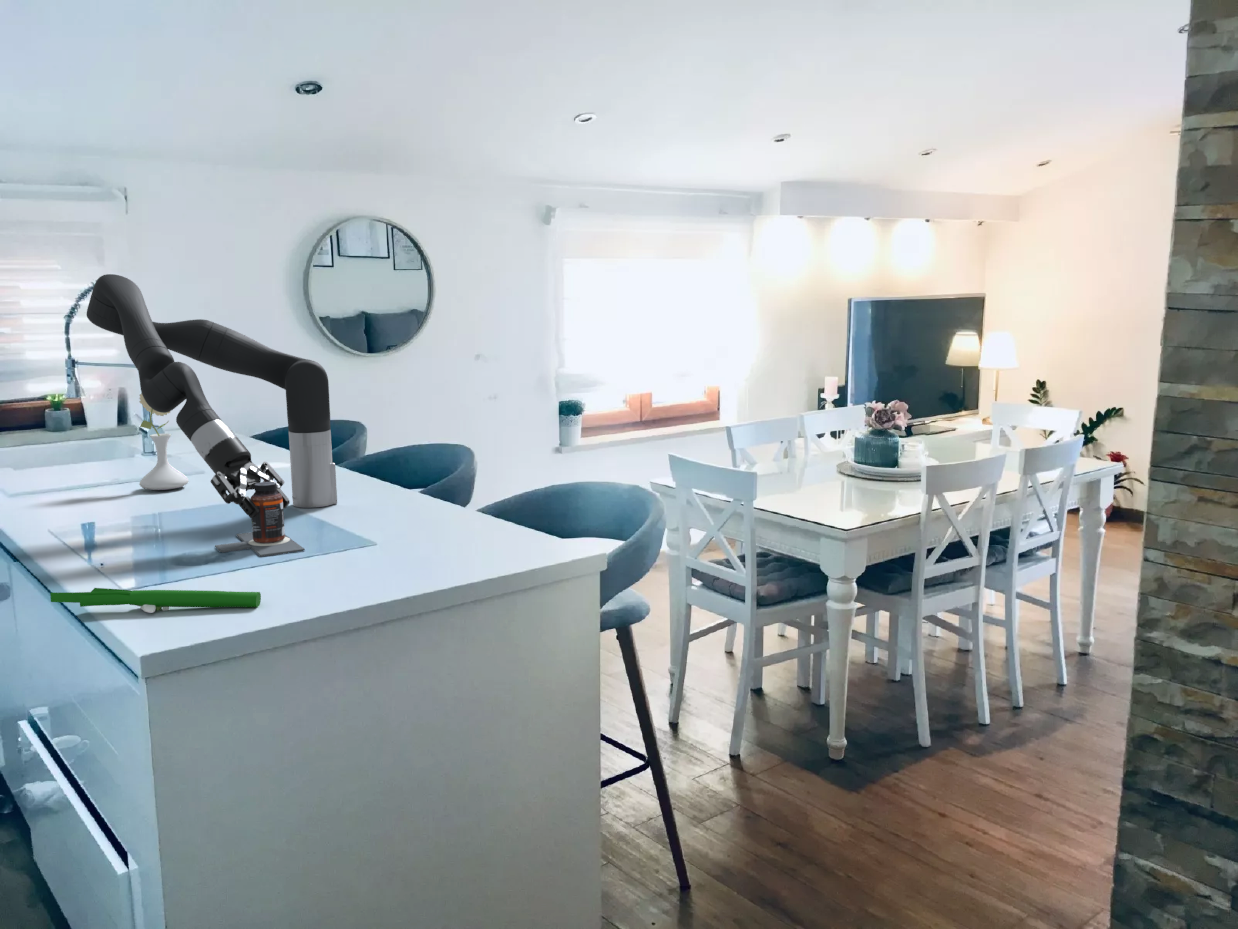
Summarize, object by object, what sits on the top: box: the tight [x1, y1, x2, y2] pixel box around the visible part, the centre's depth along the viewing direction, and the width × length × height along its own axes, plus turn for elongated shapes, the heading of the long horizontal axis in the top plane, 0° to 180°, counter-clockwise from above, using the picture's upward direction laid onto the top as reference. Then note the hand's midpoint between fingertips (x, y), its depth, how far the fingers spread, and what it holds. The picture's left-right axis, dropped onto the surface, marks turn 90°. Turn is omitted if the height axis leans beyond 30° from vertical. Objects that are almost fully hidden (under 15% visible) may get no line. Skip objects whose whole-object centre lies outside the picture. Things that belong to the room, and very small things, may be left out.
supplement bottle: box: [249, 481, 286, 543], centre depth 191 cm, size 6×6×11 cm
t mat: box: [214, 531, 306, 558], centre depth 190 cm, size 14×20×1 cm
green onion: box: [49, 587, 262, 614], centre depth 149 cm, size 5×3×30 cm
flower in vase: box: [138, 392, 190, 491], centre depth 247 cm, size 13×11×25 cm
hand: (271, 510), depth 190 cm, fingers open, 8 cm apart
